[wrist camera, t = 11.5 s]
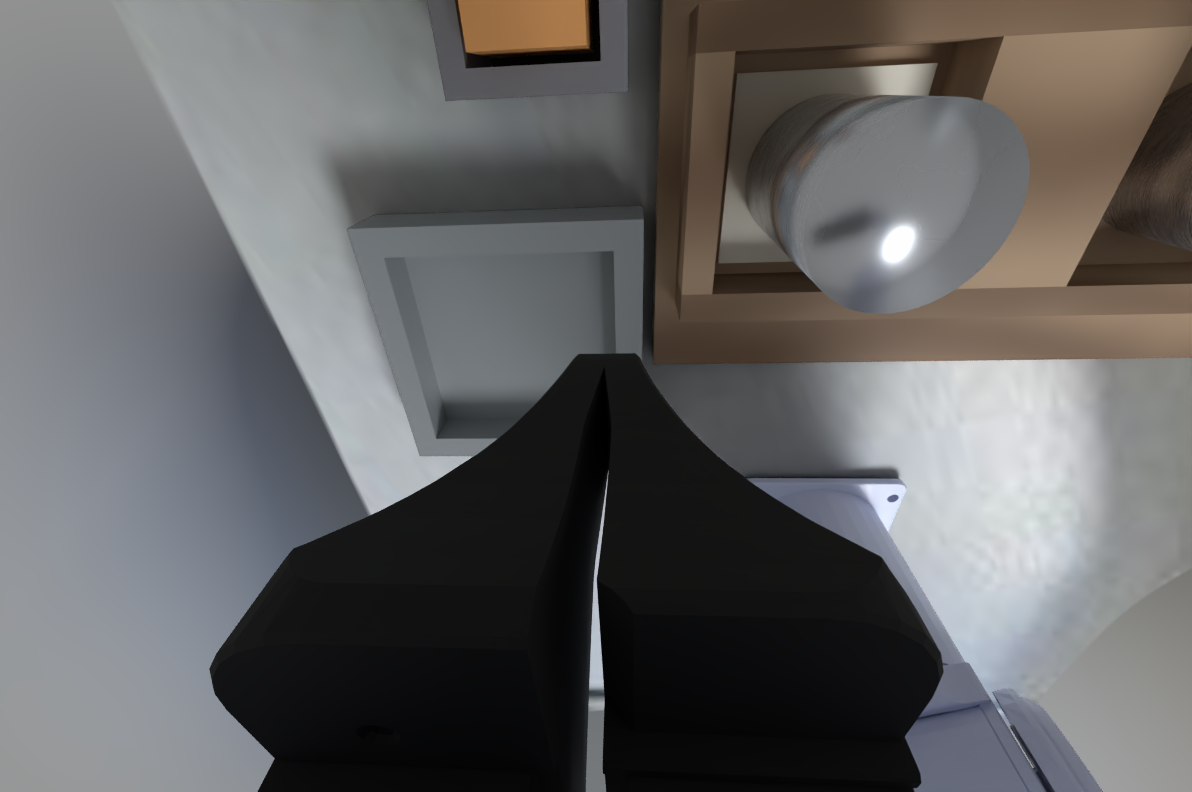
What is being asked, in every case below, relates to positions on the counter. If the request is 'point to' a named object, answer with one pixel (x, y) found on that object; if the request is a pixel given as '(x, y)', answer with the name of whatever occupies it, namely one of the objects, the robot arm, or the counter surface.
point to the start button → (526, 27)
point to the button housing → (482, 81)
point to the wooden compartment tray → (921, 68)
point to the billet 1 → (889, 193)
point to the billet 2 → (1159, 178)
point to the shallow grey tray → (497, 309)
